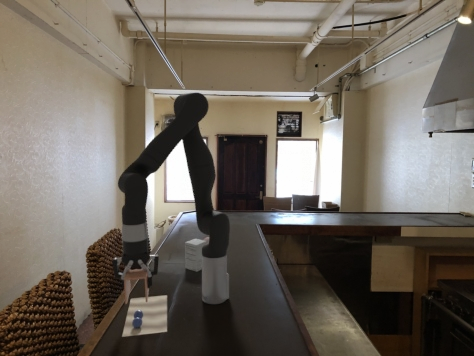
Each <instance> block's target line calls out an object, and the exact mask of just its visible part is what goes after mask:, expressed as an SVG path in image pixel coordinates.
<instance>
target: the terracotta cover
mask: <svg viewBox="0 0 474 356" xmlns="http://www.w3.org/2000/svg"><path fill="white" fill-rule="evenodd" d="M147 277H148V276H147V272H144V270H143V269H135V270H131V269H130V270H129V272H128V274H127V273H125V277H124V289H123V291H124V305H128V301H129V296H130V293H131V288H132V287H131V281H133V280H135V281H136V280H144V291H145V294H144V295H145V296H144V297H146V302H148V297H149V294H150V293H149V292H150V288H148V279H147Z"/></svg>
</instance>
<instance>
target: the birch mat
mask: <svg viewBox="0 0 474 356" xmlns="http://www.w3.org/2000/svg"><path fill="white" fill-rule="evenodd" d="M137 310H141V311H142V312H143V318H142V325H141V326H140V327H139V328H135V327H133V325H132V322H133V320H134V313H135V312H136V311H137ZM159 333H168V295H156V296H148V302H146V296H144V297H134V298H133V297H132V298H130V301H129V306H128V310H127V313H126V317H125V323H124V327H123V331H122V335H121V337H122V338H125V337H134V336H142V335H150V334H151V335H152V334H159Z"/></svg>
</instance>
